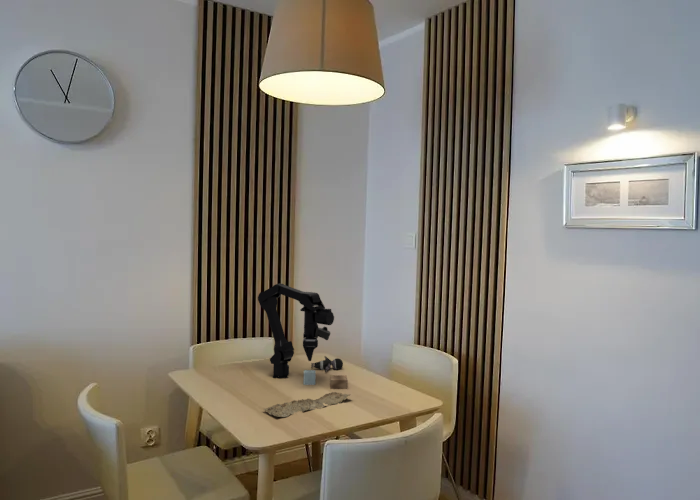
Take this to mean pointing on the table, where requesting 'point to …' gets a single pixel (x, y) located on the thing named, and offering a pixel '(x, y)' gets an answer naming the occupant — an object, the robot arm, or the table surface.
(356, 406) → the table surface
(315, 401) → the rock fragment
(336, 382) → the base block
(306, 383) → the cube
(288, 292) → the robot arm
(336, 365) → the toy
